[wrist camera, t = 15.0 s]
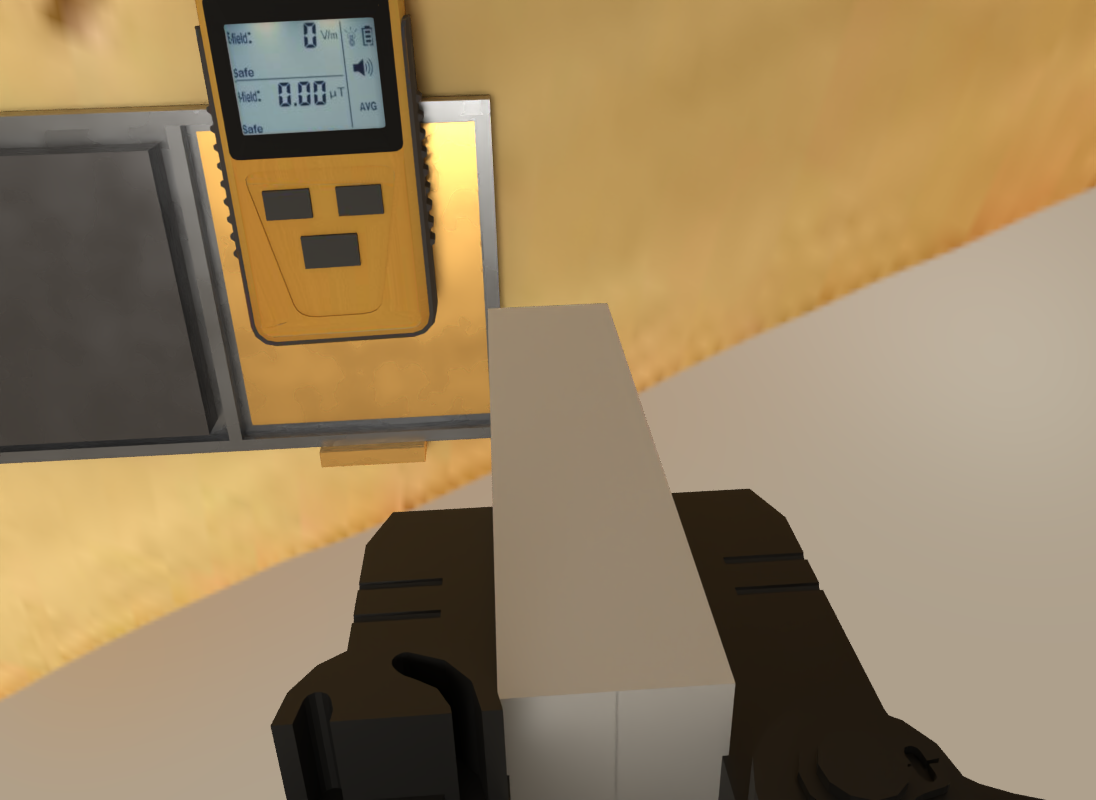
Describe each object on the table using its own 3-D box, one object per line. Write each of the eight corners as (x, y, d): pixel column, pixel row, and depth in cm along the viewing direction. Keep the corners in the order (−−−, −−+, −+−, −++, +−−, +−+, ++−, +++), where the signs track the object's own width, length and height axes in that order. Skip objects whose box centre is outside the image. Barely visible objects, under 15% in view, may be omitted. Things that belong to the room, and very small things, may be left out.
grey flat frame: (-145, 116, 38) (-176, 126, 36) (489, 94, 40) (489, 102, 38) (-21, 466, 46) (-41, 488, 44) (506, 439, 47) (507, 459, 46)
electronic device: (261, 327, 43) (245, 355, 40) (191, -52, 36) (165, -54, 33) (445, 315, 43) (442, 342, 40) (409, -62, 36) (402, -64, 33)
